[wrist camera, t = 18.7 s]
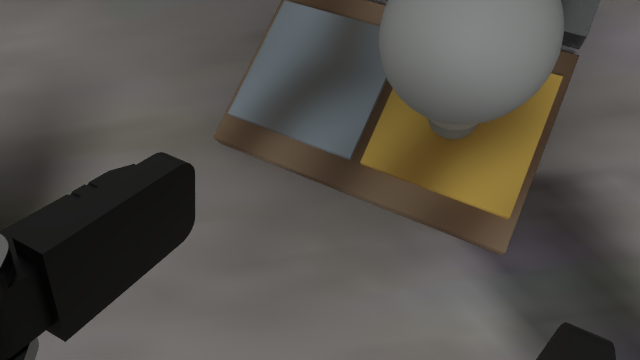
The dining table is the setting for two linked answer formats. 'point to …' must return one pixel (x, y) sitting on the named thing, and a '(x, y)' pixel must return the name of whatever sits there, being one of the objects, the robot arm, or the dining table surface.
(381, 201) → the board
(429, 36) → the lightbulb
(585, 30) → the mounted unit
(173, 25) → the dining table surface
